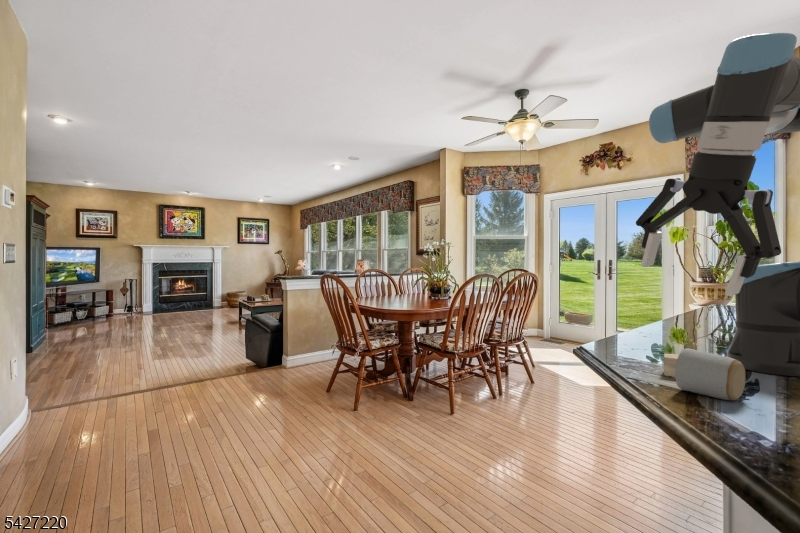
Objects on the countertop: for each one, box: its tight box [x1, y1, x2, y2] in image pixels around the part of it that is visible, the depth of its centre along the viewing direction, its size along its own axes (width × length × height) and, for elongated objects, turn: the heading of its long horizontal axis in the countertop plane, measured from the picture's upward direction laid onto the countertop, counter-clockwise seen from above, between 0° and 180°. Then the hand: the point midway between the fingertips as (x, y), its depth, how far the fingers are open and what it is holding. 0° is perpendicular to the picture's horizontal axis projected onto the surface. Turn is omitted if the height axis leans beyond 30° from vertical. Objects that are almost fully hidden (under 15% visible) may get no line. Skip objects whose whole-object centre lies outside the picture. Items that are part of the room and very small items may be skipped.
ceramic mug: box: [674, 347, 746, 401], centre depth 67 cm, size 11×8×8 cm
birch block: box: [663, 353, 679, 378], centre depth 78 cm, size 4×4×4 cm
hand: (685, 278), depth 65 cm, fingers open, 13 cm apart
